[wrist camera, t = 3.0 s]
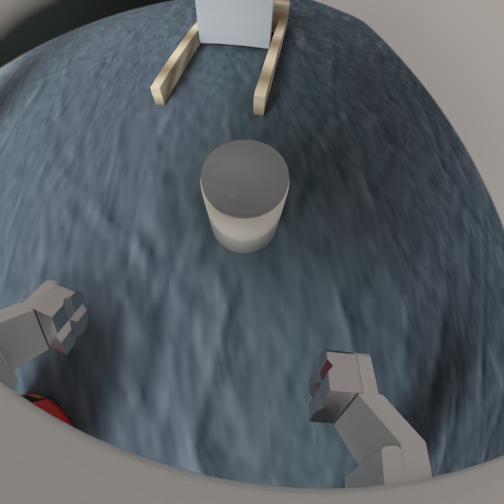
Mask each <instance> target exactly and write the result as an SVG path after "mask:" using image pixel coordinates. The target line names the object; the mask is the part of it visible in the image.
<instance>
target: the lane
mask: <svg viewBox="0 0 504 504" xmlns="http://www.w3.org/2000/svg"><path fill="white" fill-rule="evenodd" d="M289 7H290V1H287V0H274V10H273V20H272V31H271V32H274V35H273V38H272V41H271V44H270V47H269V50H268V53H267V56H266V59H265V62H264V65H263V68H262V72H261V75H260V78H259V81H258V84H257V87H256V90H255V94H254V103H253V114H255V115H262V116H263V115H264V112H265V108H266V104H267V100H268V96H269V92H270V88H271V85H272V81H273V77H274V73H275V70H276V66H277V62H278V58H279V55H280V51H281V47H282V44H283V40H284V36H285V33H286V29H287V22H288V14H289ZM200 44H201V43H200V39H199V30H198V21H197V22H196V23H195V24H194V26H193V27H192V28H191V30H190V31H189V32H188V33H187V35H186V36H185V37H184V39H183V40H182V41H181V43H180V44H179V46H178V47H177V48H176V50H175V51H174V53H173V54H172V55H171V57H170V58H169V60H168V61H167V63H166V64H165V66H164V67H163V69H162V70H161V72H160V73H159V75H158V76H157V78H156V79H155V81H154V83H153V84H152V86H151V87H150V88H151V91H152V94H153V97H154V100H155V103H156V105H165V103H166V101H167V100H168V98H169V96H170V94H171V92H172V90H173V89H174V87H175V85H176V83H177V82H178V80H179V78H180V76H181V75H182V73H183V71H184V70H185V68H186V66H187V65H188V63H189V61H190V60H191V58H192V57H193V55H194V53H195V52H196V50H197V49H198V47H199V46H200Z"/></svg>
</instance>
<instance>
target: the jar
mask: <svg viewBox="0 0 504 504" xmlns="http://www.w3.org/2000/svg"><path fill="white" fill-rule="evenodd" d="M200 184H201V191H202V195H203V198H204V202H205V206H206V209H207V213H208V216H209V220H210V224H211V227H212V231H213V233H214V236H215V238H216V239H217V241H218V242H219V243H220V244H221V245H222V246H223V247H225V248H226V249H228V250H230V251H233V252H236V253H252V252H256V251H258V250H260V249H262V248H264V247H265V246H266V245H268V244H269V243H270V241H271V240H272V239H273V237H274V235H275V233H276V229H277V226H278V223H279V220H280V216H281V213H282V210H283V207H284V203H285V200H286V197H287V194H288V190H289V171H288V167H287V164H286V162H285V160H284V159H283V157H282V156H281V155H280V154H279V153H278V152H277V151H276V150H275V149H274V148H272V147H271V146H269V145H267V144H265V143H262V142H260V141H255V140H249V139H242V140H234V141H230V142H227V143H225V144H223V145H221V146H219V147H217V148H216V149H215V150H213V151H212V152H211V153H210V154H209V156H208V157H207V158H206V160H205V162H204V164H203V166H202V170H201V180H200Z"/></svg>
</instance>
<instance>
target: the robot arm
mask: <svg viewBox="0 0 504 504" xmlns="http://www.w3.org/2000/svg"><path fill="white" fill-rule="evenodd" d="M83 302H84V297H83V293H82V292H80V291H78V290H76V289H73V288H71V287H68V286H66V285H63V284H61V283H57V282H55V281H53V280H47V281H45V282H44V283H43V284H42V285H41V286H40V287H39V288H38V289H37V290H36V291H35V292H34V293H33V294H32V295H31V296H30V297H28V298H27V299H26V300H25V301H24V302H23V303H22V304H21V303H17V304H15V305H12V306H9V307H6V308H4V309H1V310H0V504H504V455H503V456H500V457H498V458H495V459H492V460H489V461H487V462H484V463H481V464H478V465H475V466H472V467H468V468H465V469H462V470H458V471H455V472H451V473H447V474H443V475H439V476H434V477H432V474H431V468H430V463H429V457H428V452H427V447H426V442H425V441H424V440H423V439H422V438H421V437H420V435H419V434H418V433H417V432H416V431H415V430H414V429H413V428H412V427H411V426H410V424H409V423H408V422H407V421H406V420H405V419H404V418H403V417H402V416H401V414H400V413H399V412H398V411H397V410H396V409H395V408H394V407H393V406H392V405H391V403H390V402H389V401H388V400H387V399H386V398H385V397H384V396H383V395H379V394H378V389H377V384H376V380H375V375H374V370H373V366H372V362H371V357H370V356H369V354H361V353H351V352H343V351H334V350H327V349H324V350H323V351H322V352H321V354H320V356H319V364H317V365H316V366H314V369H313V371H312V373H311V377H310V382H309V393H310V395H311V396H312V397H313V398H312V400H311V402H310V403H309V421H313V422H322V423H333V424H334V426H335V428H336V429H337V431H338V433H339V434H340V436H341V437H342V439H343V441H344V442H345V444H346V446H347V447H348V449H349V450H350V452H351V454H352V455H353V457H354V458H355V460H356V462H357V463H358V465H359V467H357V468H356V469H355V470H353V471H352V472H350V473H349V474H348V475H347V476H345V488H295V487H280V486H270V485H261V484H253V483H246V482H239V481H233V480H228V479H222V478H217V477H212V476H208V475H203V474H199V473H195V472H191V471H187V470H183V469H179V468H176V467H172V466H169V465H166V464H162V463H159V462H156V461H153V460H150V459H147V458H144V457H141V456H138V455H136V454H133V453H130V452H128V451H125V450H123V449H120V448H118V447H115V446H113V445H110V444H108V443H106V442H104V441H101V440H99V439H97V438H95V437H93V436H90V435H88V434H86V433H84V432H82V431H80V430H78V429H76V428H74V427H72V426H70V425H69V424H67V423H65V422H63V421H61V420H59V419H58V418H56V417H54V416H52V415H51V414H49V413H47V412H46V411H44V410H42V409H41V408H39V407H37V406H36V405H34V404H33V403H31V402H30V401H28V400H27V399H25V398H24V397H22V396H21V395H19V394H18V393H16V392H15V391H13V389H14V388H15V386H16V385H17V383H18V379H17V377H16V376H15V374H14V373H13V371H12V370H14V369H16V368H17V367H19V366H21V365H22V364H24V363H26V362H28V361H29V360H31V359H33V358H34V357H36V356H38V355H40V354H41V353H43V352H45V351H46V350H48V349H49V348H51V349H53V350H55V351H58V352H60V353H62V354H64V355H67V354H68V353H69V351H70V350H71V349H72V347H73V346H74V344H75V343H76V342H75V337H77V336H80V335H82V333H83V332H84V331H85V329H86V326H87V323H88V313H87V310H86V308H85V307H84V306H83Z"/></svg>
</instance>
